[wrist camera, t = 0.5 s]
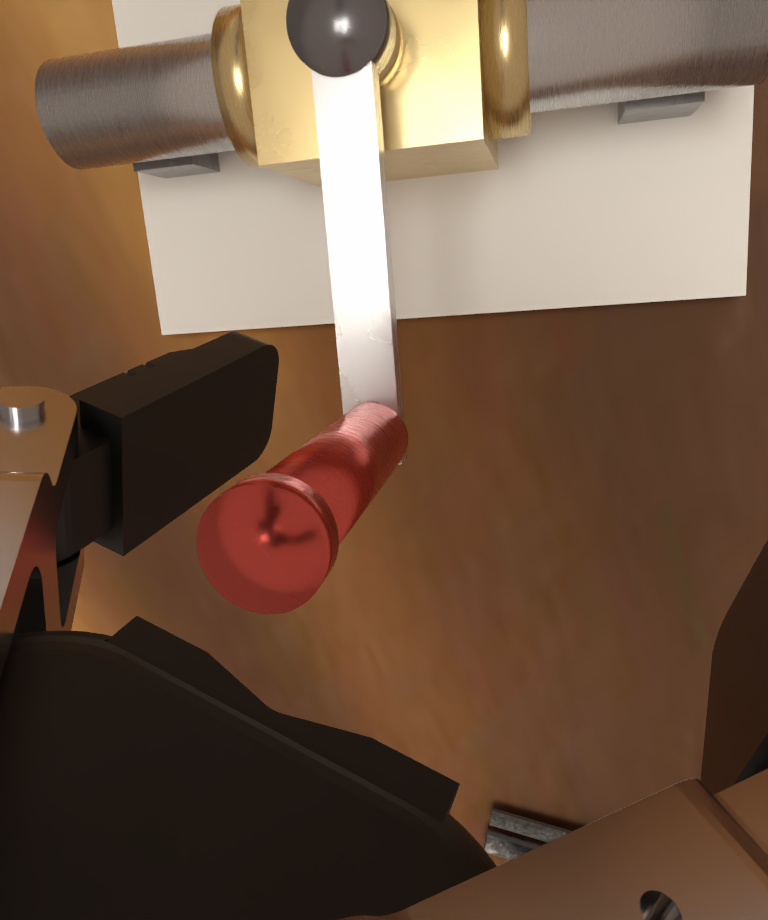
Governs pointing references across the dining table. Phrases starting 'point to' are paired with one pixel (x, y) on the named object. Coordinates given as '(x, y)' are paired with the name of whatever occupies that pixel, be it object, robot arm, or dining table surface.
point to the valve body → (396, 82)
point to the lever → (357, 334)
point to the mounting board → (463, 217)
